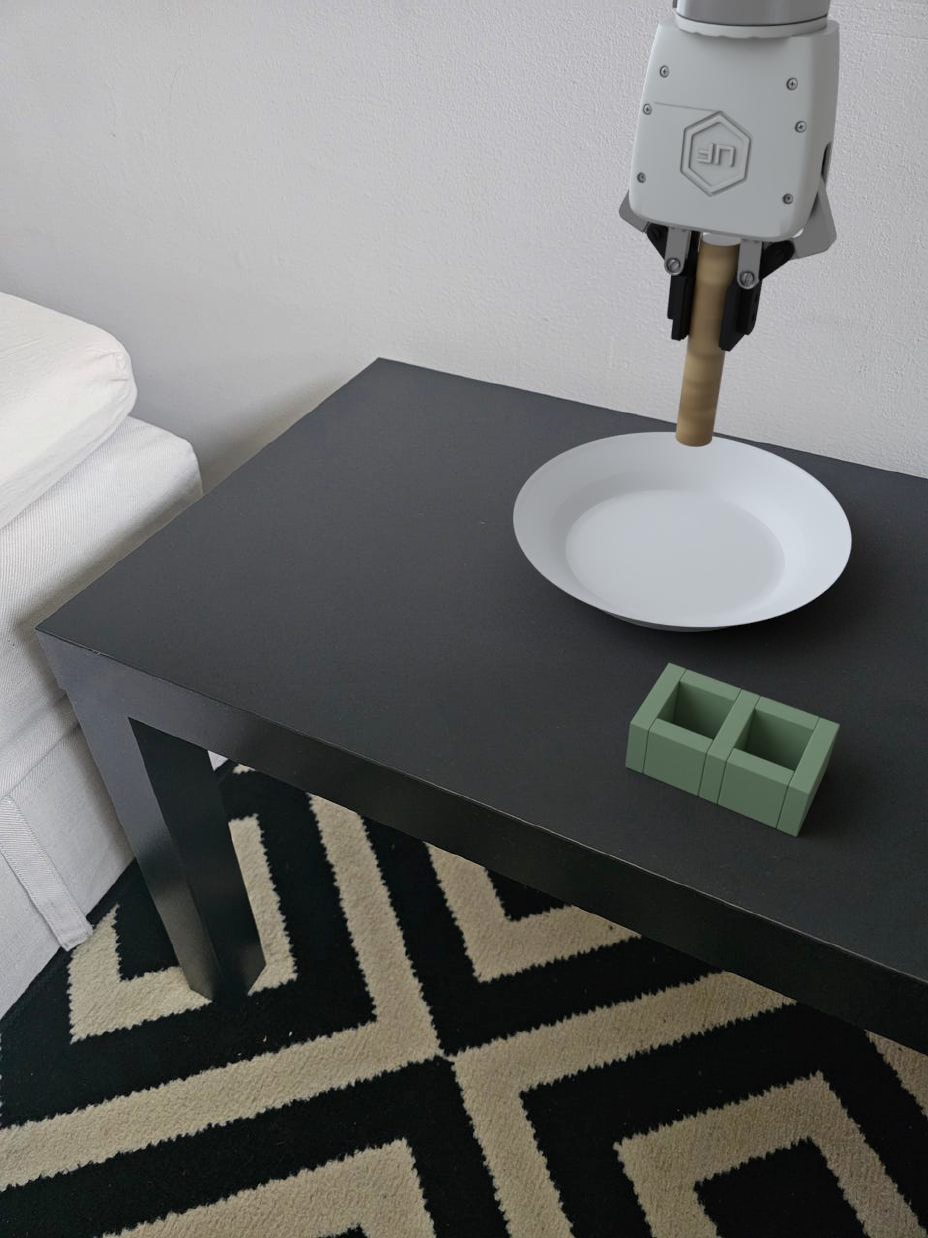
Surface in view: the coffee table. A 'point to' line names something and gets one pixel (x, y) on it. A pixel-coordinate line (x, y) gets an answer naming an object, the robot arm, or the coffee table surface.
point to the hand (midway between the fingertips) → (708, 334)
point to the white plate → (682, 531)
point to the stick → (706, 340)
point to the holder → (731, 747)
